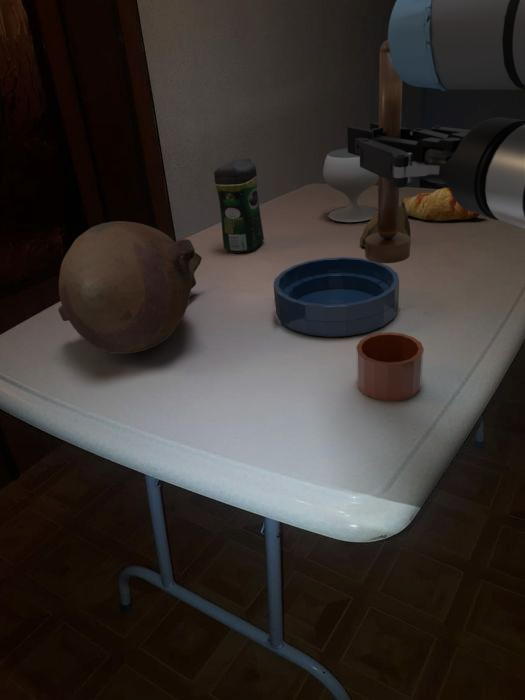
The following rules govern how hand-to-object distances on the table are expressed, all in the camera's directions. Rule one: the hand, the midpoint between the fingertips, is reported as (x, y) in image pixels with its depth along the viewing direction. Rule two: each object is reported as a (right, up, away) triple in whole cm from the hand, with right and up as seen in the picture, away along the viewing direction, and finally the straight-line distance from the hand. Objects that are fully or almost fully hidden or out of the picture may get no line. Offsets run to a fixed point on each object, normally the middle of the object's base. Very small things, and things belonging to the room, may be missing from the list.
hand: (362, 137), depth 62 cm
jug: (-29, -20, +31) cm, 47 cm away
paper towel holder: (+3, -13, +1) cm, 13 cm away
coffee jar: (-15, -1, +62) cm, 64 cm away
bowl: (+1, -18, +29) cm, 34 cm away
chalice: (+11, +9, +74) cm, 76 cm away
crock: (+5, -29, +10) cm, 31 cm away
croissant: (+30, +7, +68) cm, 75 cm away
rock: (+15, -1, +56) cm, 58 cm away
